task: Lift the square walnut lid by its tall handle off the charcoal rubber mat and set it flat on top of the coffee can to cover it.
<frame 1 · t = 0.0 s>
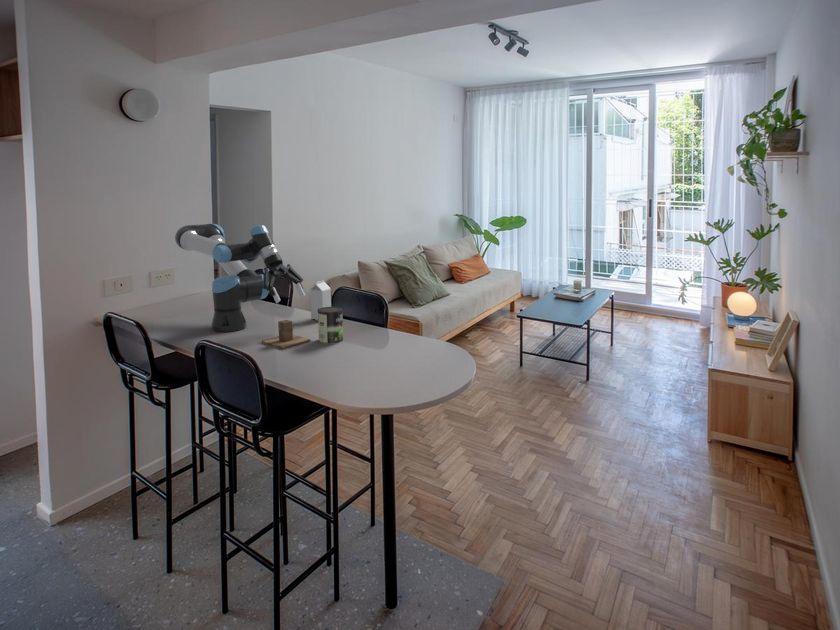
hand: (291, 299, 240), 15 cm above the counter, tool tilted 35°, fingers open, 13 cm apart
coffee can: (331, 342, 231), on the counter
mat: (286, 343, 228), on the counter
milk carton: (321, 319, 268), on the counter
lid: (286, 342, 227), point 1 cm above the counter, touching mat
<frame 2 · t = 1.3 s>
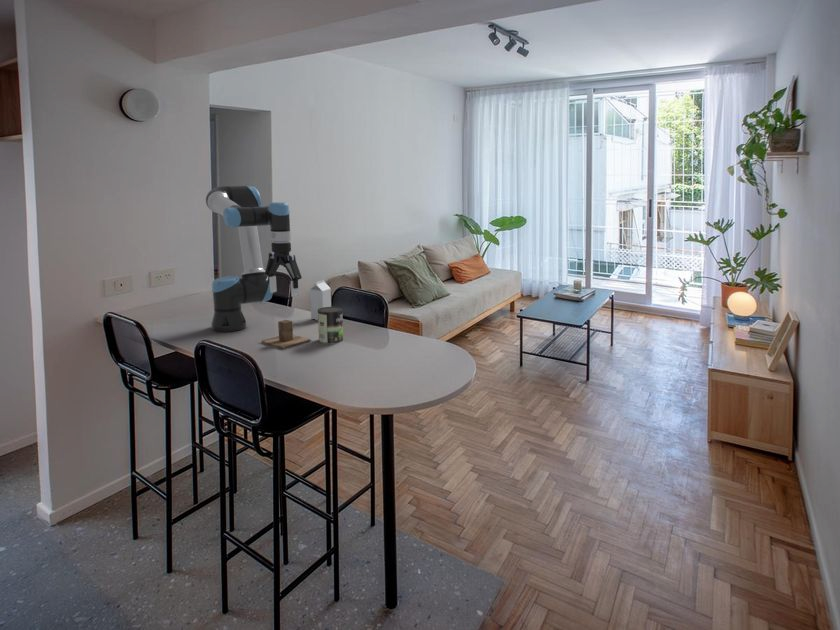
hand: (283, 294, 223), 21 cm above the counter, tool pointing down, fingers open, 13 cm apart
nothing on the counter moved.
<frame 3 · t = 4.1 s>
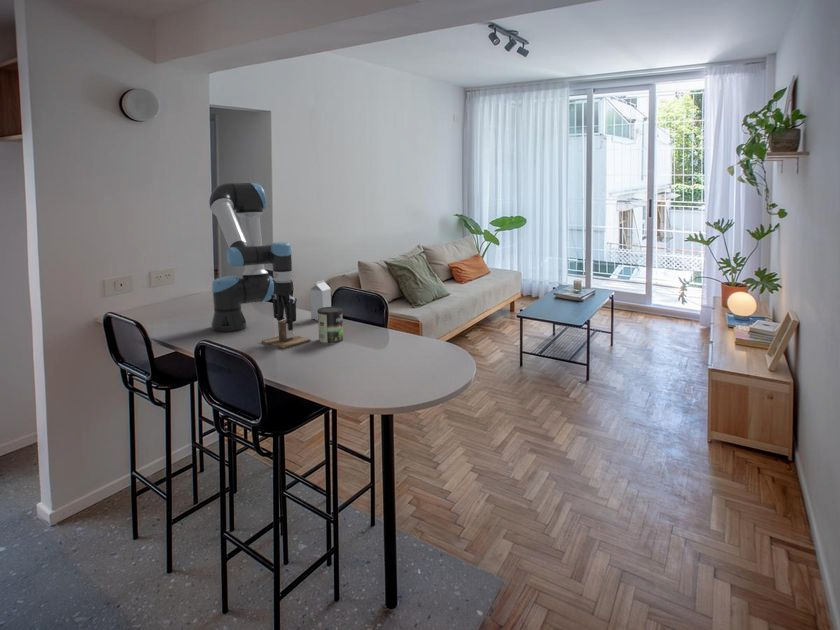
hand: (285, 336, 227), 3 cm above the counter, tool pointing down, fingers closed on lid, 4 cm apart
lid: (286, 342, 227), point 1 cm above the counter, touching gripper, mat
everything else where it was.
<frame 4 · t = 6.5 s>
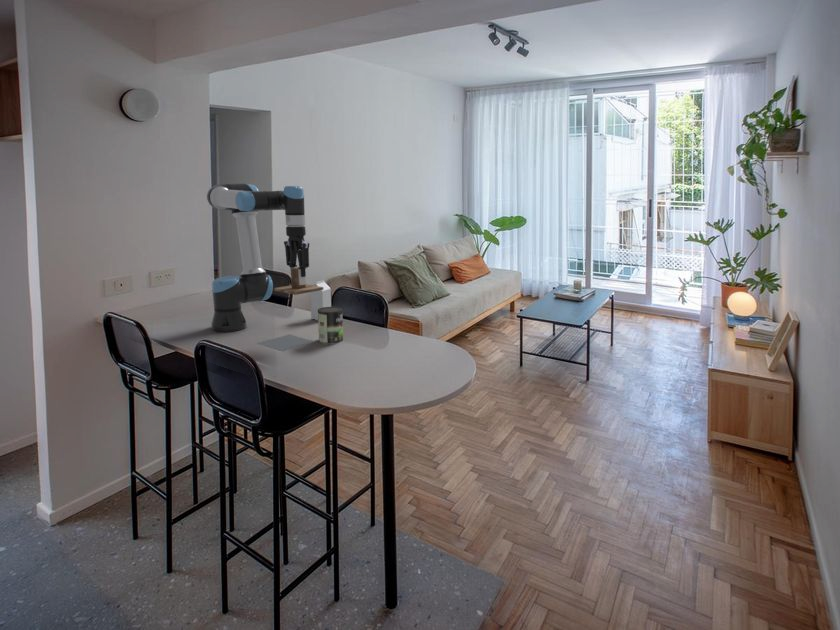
hand: (298, 283, 222), 25 cm above the counter, tool pointing down, fingers closed on lid, 4 cm apart
lid: (298, 290, 223), point 23 cm above the counter, touching gripper
everything else where it was.
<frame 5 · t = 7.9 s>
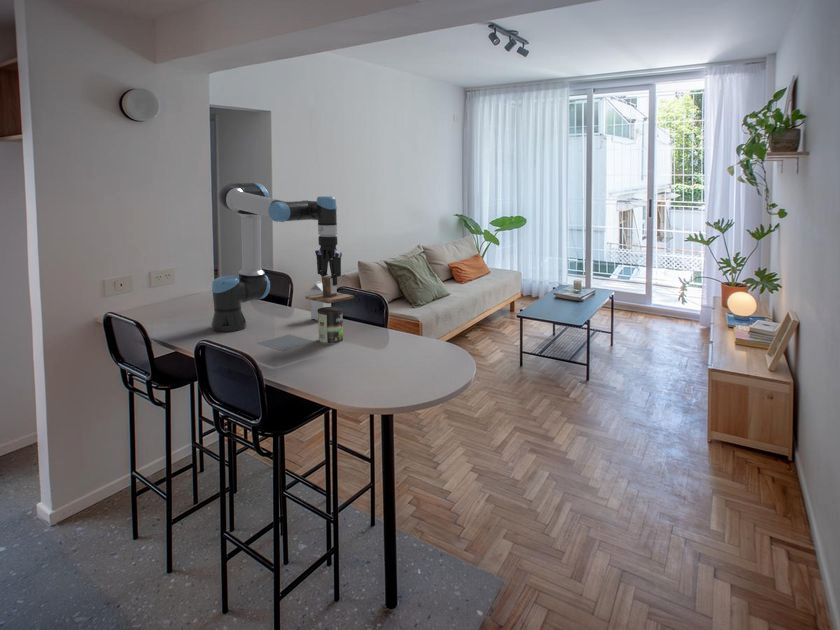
hand: (329, 292, 226), 21 cm above the counter, tool pointing down, fingers closed on lid, 4 cm apart
lid: (329, 298, 226), point 19 cm above the counter, touching gripper
everything else where it was.
when the fingers open (18 cm above the counter, at t = 9.0 s): lid drops 2 cm, resting on coffee can.
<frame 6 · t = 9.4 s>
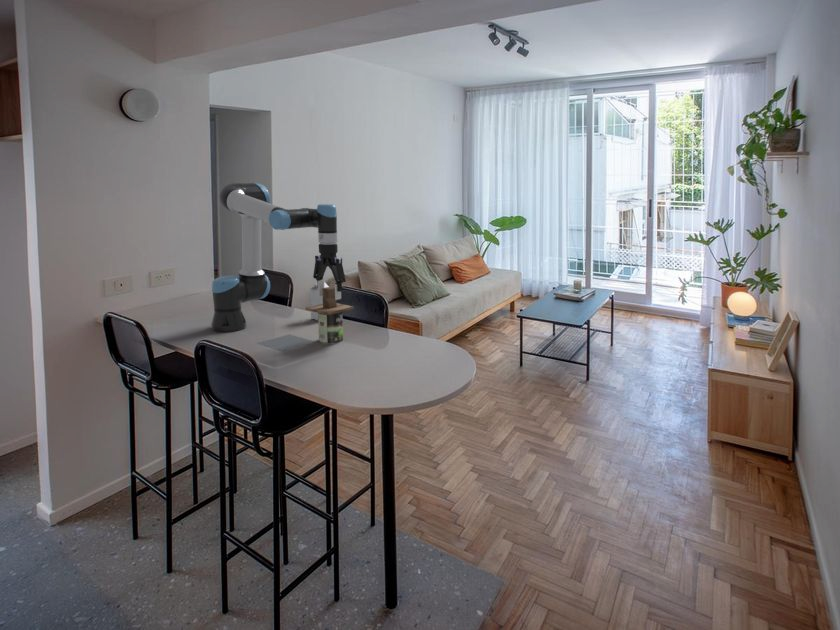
hand: (329, 297, 226), 19 cm above the counter, tool pointing down, fingers open, 9 cm apart
coffee can: (331, 342, 231), on the counter, touching lid
lid: (329, 309, 227), point 14 cm above the counter, touching coffee can
everything else where it was.
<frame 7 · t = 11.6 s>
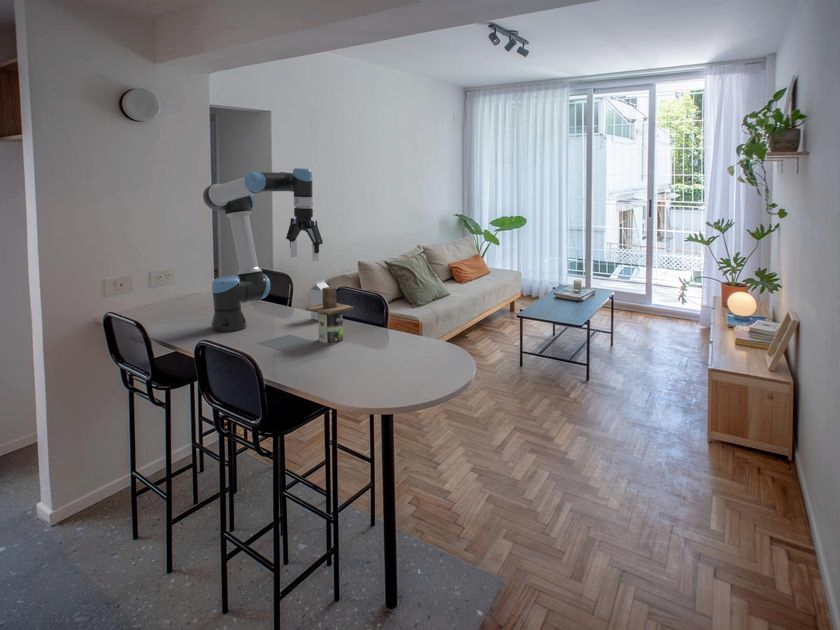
hand: (304, 258, 229), 34 cm above the counter, tool pointing down, fingers open, 13 cm apart
nothing on the counter moved.
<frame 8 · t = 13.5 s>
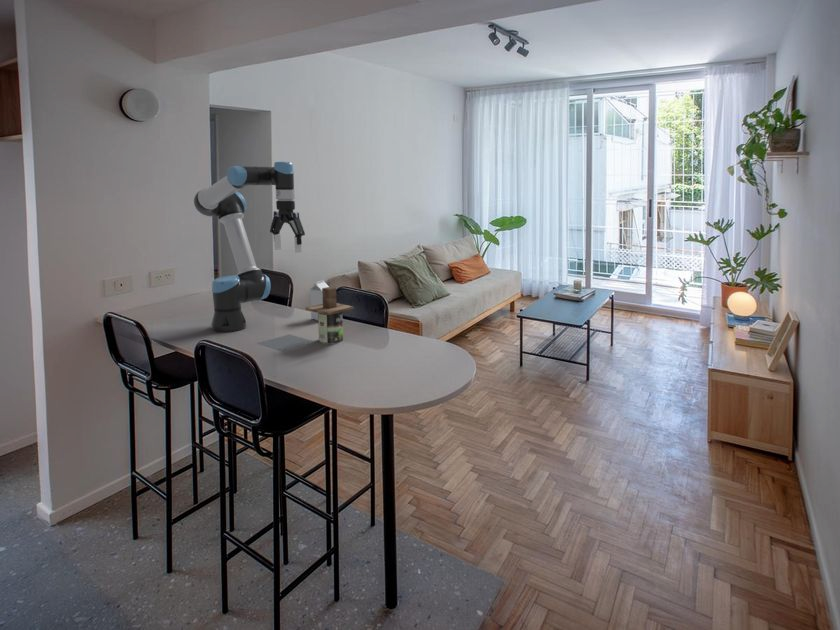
hand: (287, 251, 233), 37 cm above the counter, tool pointing down, fingers open, 13 cm apart
nothing on the counter moved.
at the end: lid 0.1 cm off-centre on the coffee can, point 14.3 cm above the coffee can's base; lid tilted 0°; coffee can tilted 0° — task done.
